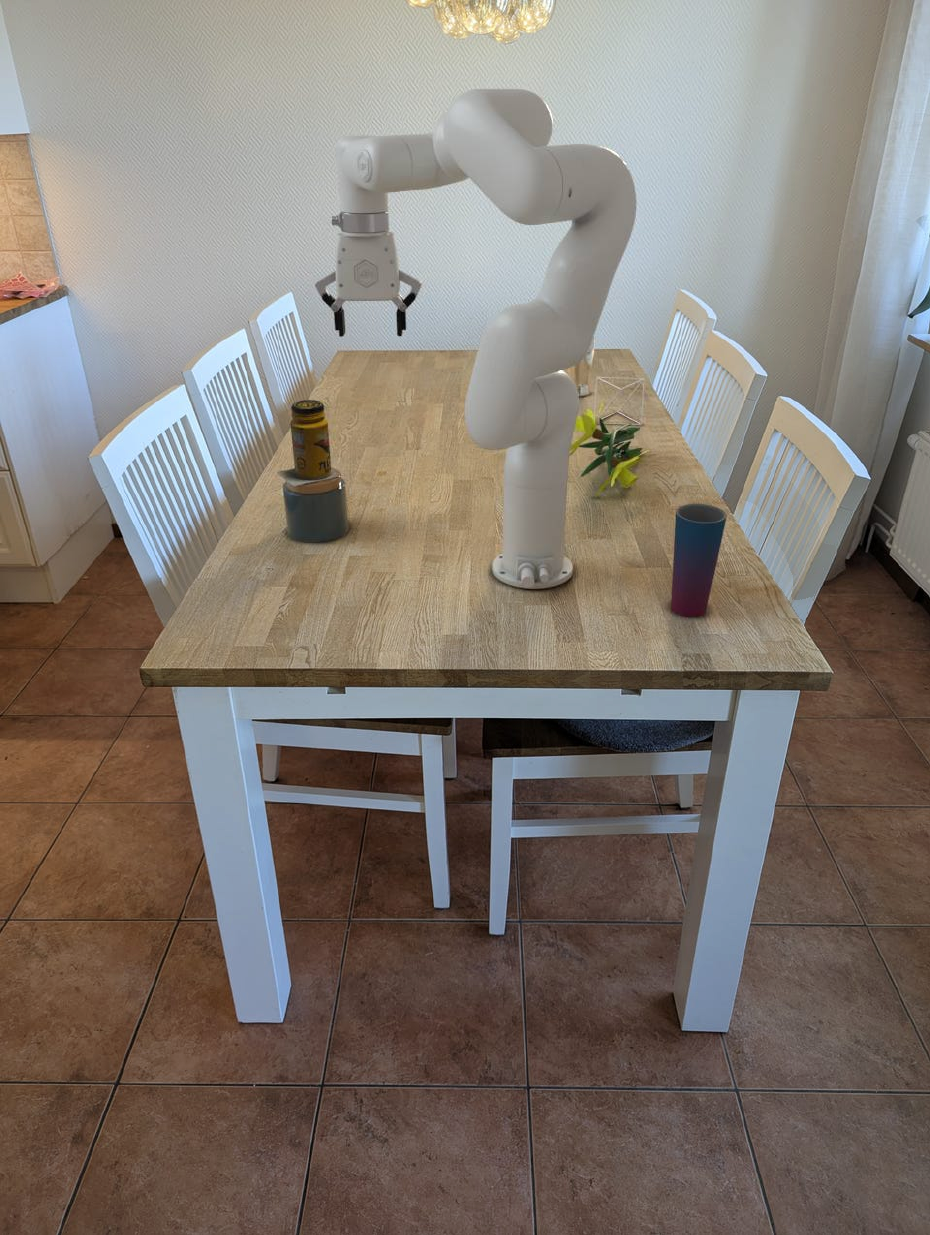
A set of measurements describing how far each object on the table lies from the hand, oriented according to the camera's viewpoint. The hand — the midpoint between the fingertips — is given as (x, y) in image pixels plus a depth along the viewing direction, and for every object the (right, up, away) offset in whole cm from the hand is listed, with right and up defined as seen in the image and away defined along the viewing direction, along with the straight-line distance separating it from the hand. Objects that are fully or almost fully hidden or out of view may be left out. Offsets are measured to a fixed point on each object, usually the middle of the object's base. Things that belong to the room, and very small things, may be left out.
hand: (371, 334), depth 153 cm
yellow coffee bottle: (-11, -24, 0) cm, 26 cm away
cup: (+48, -46, -20) cm, 70 cm away
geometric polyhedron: (+51, -2, +58) cm, 77 cm away
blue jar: (-10, -32, +5) cm, 34 cm away
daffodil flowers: (+43, -20, +26) cm, 55 cm away
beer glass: (+44, +9, +77) cm, 89 cm away
